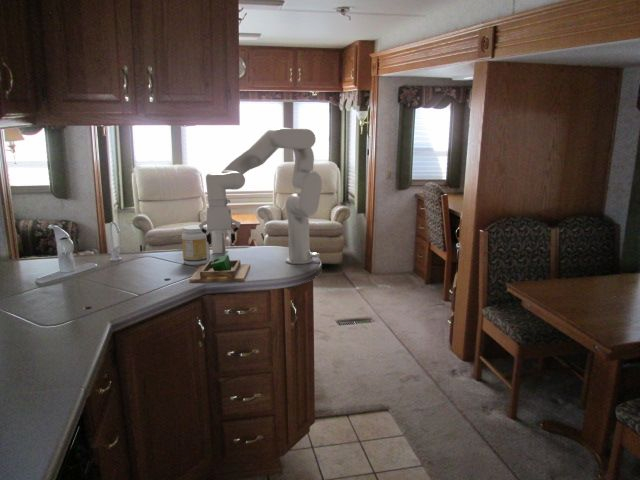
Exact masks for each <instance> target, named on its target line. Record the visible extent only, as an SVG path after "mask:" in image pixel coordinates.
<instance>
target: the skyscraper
mask: <svg viewBox="0 0 640 480" xmlns="http://www.w3.org/2000/svg"><path fill="white" fill-rule="evenodd" d="M225 235H226V234H225V230H215V231H211V241H212V243H211V248H212V250H211V251H212V253H211V255H227V254H228V252H229V250H227V249H226V247H227V245H226V236H225Z"/></svg>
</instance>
